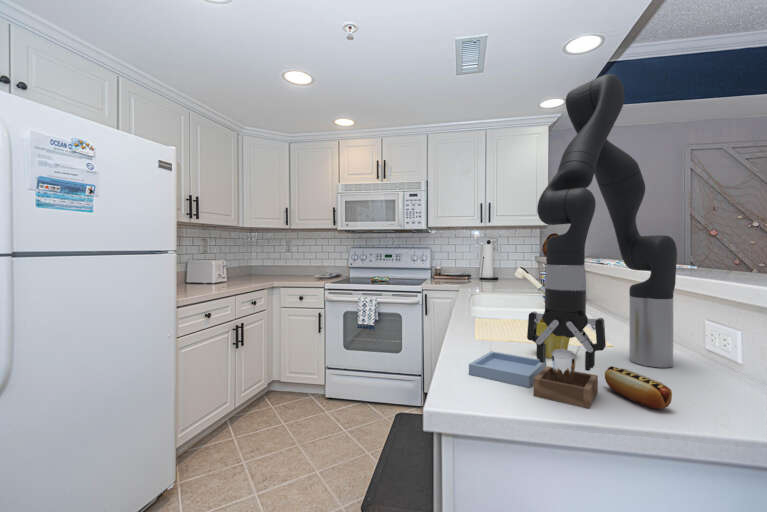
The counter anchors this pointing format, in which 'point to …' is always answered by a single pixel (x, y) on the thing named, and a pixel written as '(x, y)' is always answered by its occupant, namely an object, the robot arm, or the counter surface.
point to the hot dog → (638, 388)
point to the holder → (567, 388)
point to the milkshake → (564, 365)
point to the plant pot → (552, 340)
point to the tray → (507, 368)
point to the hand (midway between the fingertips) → (564, 365)
